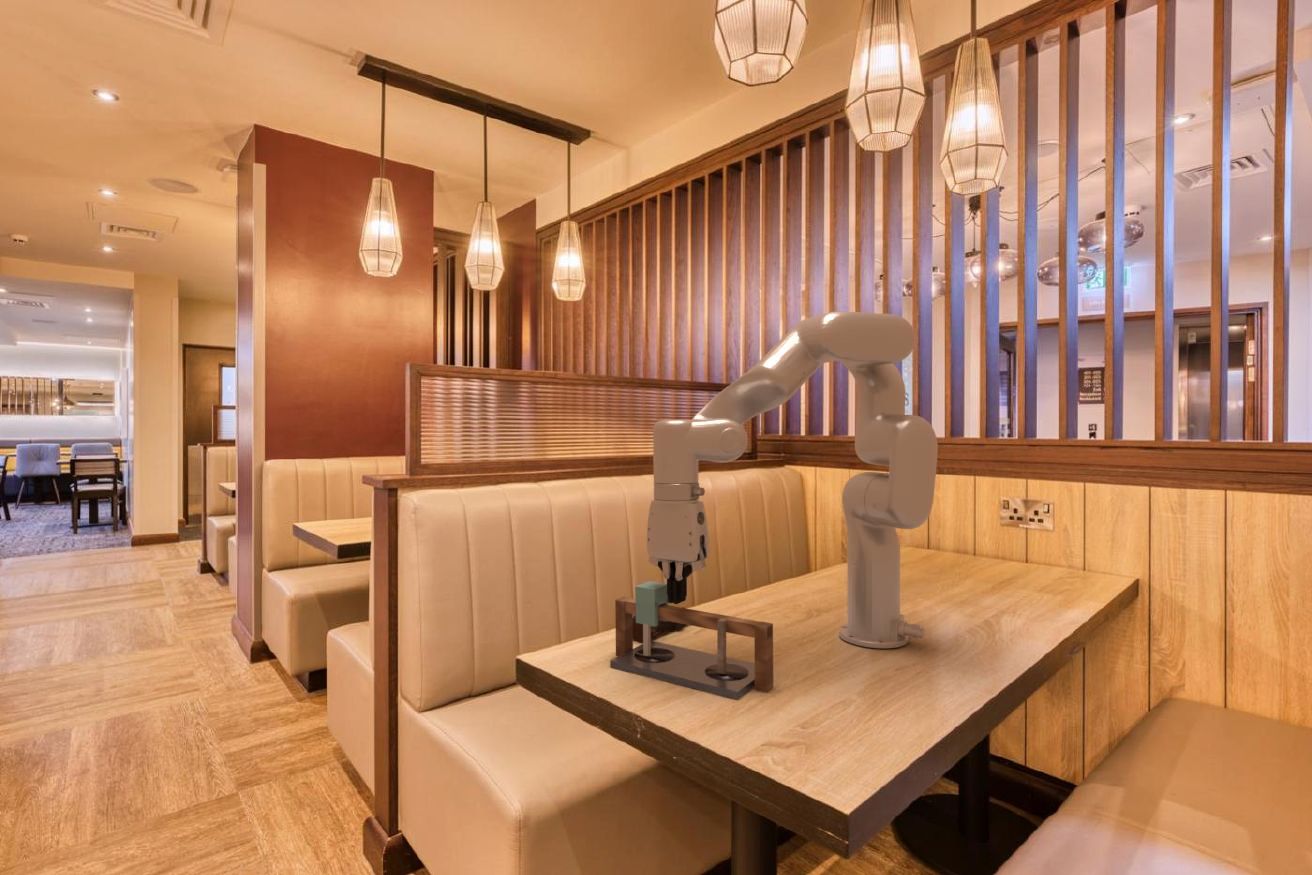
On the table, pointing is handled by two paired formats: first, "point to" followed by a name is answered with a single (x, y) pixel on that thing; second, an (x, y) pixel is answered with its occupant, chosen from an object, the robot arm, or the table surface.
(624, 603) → the beam
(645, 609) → the slider block
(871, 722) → the table surface
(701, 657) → the hole plate
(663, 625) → the bolt
